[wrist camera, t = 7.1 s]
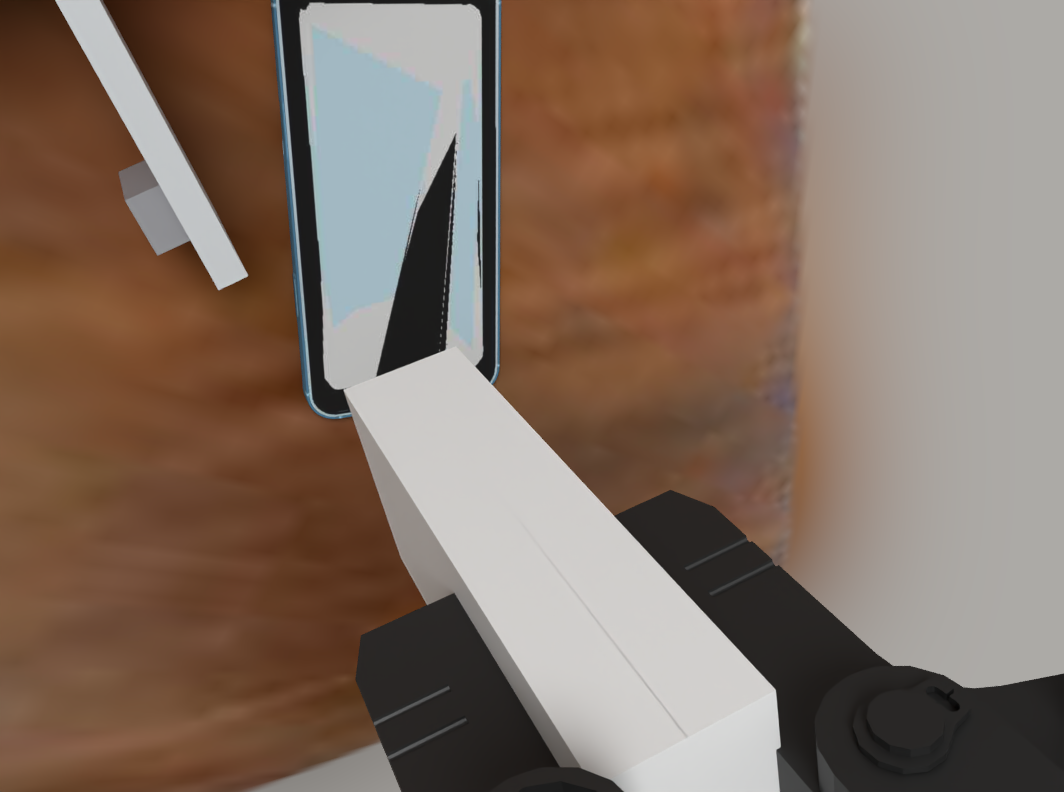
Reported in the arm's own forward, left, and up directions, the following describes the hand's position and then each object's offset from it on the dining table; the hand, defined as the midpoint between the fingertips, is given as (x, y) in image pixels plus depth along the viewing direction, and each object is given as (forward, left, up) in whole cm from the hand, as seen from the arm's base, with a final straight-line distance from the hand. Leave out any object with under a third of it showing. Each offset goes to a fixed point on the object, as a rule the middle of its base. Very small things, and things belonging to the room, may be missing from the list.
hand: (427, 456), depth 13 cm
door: (-2, +3, -21) cm, 21 cm away
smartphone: (+4, -5, -22) cm, 23 cm away
